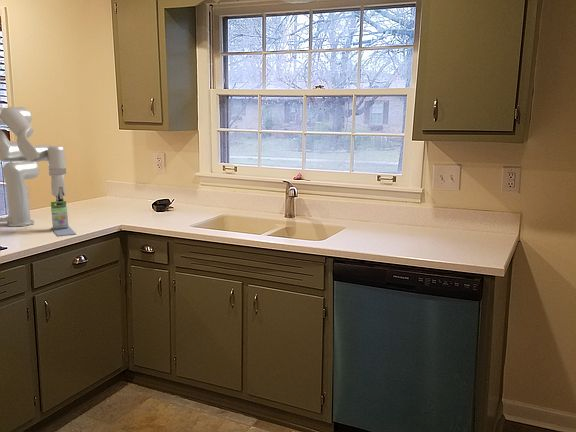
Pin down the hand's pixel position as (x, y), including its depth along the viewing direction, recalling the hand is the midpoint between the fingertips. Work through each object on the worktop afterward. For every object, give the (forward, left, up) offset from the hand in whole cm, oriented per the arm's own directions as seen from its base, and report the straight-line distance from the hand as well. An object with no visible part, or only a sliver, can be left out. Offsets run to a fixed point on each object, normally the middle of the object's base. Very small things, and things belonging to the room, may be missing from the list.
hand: (60, 210), depth 260 cm
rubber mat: (0, -6, -9) cm, 11 cm away
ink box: (-1, 0, -8) cm, 8 cm away
